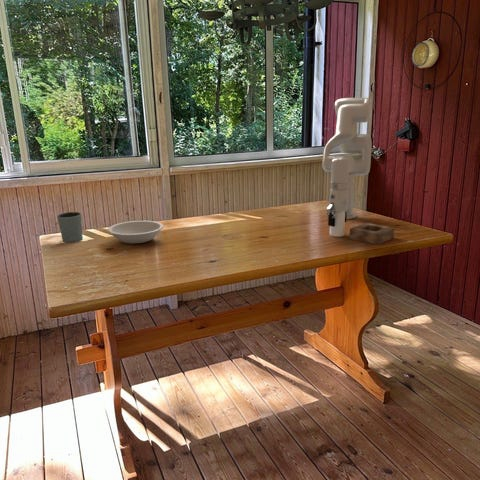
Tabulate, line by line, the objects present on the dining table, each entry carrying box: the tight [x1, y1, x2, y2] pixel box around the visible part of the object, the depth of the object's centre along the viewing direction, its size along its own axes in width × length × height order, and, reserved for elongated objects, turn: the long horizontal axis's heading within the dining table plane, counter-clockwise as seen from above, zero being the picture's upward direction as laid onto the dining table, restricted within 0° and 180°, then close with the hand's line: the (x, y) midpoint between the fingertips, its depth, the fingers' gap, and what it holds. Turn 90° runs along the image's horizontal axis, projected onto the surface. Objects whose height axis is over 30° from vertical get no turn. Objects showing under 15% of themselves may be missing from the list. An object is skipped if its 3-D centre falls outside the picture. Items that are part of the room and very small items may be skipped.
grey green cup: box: [56, 211, 83, 244], centre depth 201 cm, size 10×10×12 cm
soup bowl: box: [107, 220, 164, 245], centre depth 198 cm, size 24×24×7 cm
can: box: [329, 210, 346, 238], centre depth 202 cm, size 6×6×12 cm
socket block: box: [348, 222, 395, 246], centre depth 198 cm, size 14×14×4 cm
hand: (337, 223), depth 202 cm, fingers open, 9 cm apart
